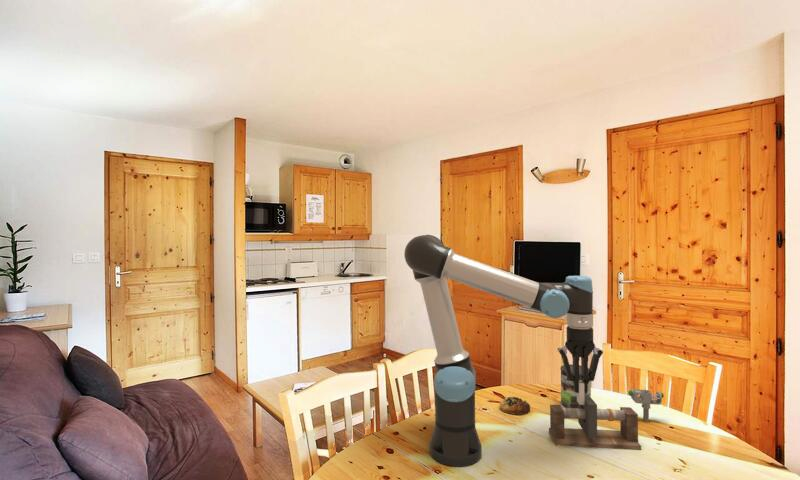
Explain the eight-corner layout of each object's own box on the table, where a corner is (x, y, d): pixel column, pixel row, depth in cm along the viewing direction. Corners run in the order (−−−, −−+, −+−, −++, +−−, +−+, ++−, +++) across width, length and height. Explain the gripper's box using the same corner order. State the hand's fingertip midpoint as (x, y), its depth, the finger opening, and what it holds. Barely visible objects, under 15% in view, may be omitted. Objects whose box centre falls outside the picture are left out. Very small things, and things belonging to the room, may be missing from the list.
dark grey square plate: (588, 438, 121) (588, 404, 121) (578, 422, 131) (578, 391, 131) (597, 438, 121) (597, 404, 121) (586, 422, 131) (585, 391, 131)
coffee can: (574, 415, 143) (573, 375, 143) (554, 403, 153) (554, 366, 153) (598, 410, 146) (597, 371, 146) (577, 399, 156) (577, 363, 156)
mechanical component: (664, 423, 136) (664, 393, 135) (630, 421, 138) (630, 391, 137) (660, 419, 138) (660, 390, 138) (627, 417, 141) (627, 388, 140)
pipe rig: (556, 445, 123) (555, 413, 123) (548, 431, 132) (548, 401, 132) (641, 449, 120) (641, 416, 120) (627, 434, 129) (627, 403, 129)
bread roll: (535, 414, 144) (533, 400, 144) (505, 420, 143) (502, 406, 143) (524, 402, 155) (522, 389, 155) (495, 408, 154) (493, 394, 154)
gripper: (560, 329, 123) (561, 407, 123) (606, 329, 121) (607, 408, 122) (554, 323, 130) (555, 397, 131) (597, 323, 129) (598, 398, 129)
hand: (580, 402), depth 126 cm, fingers closed
